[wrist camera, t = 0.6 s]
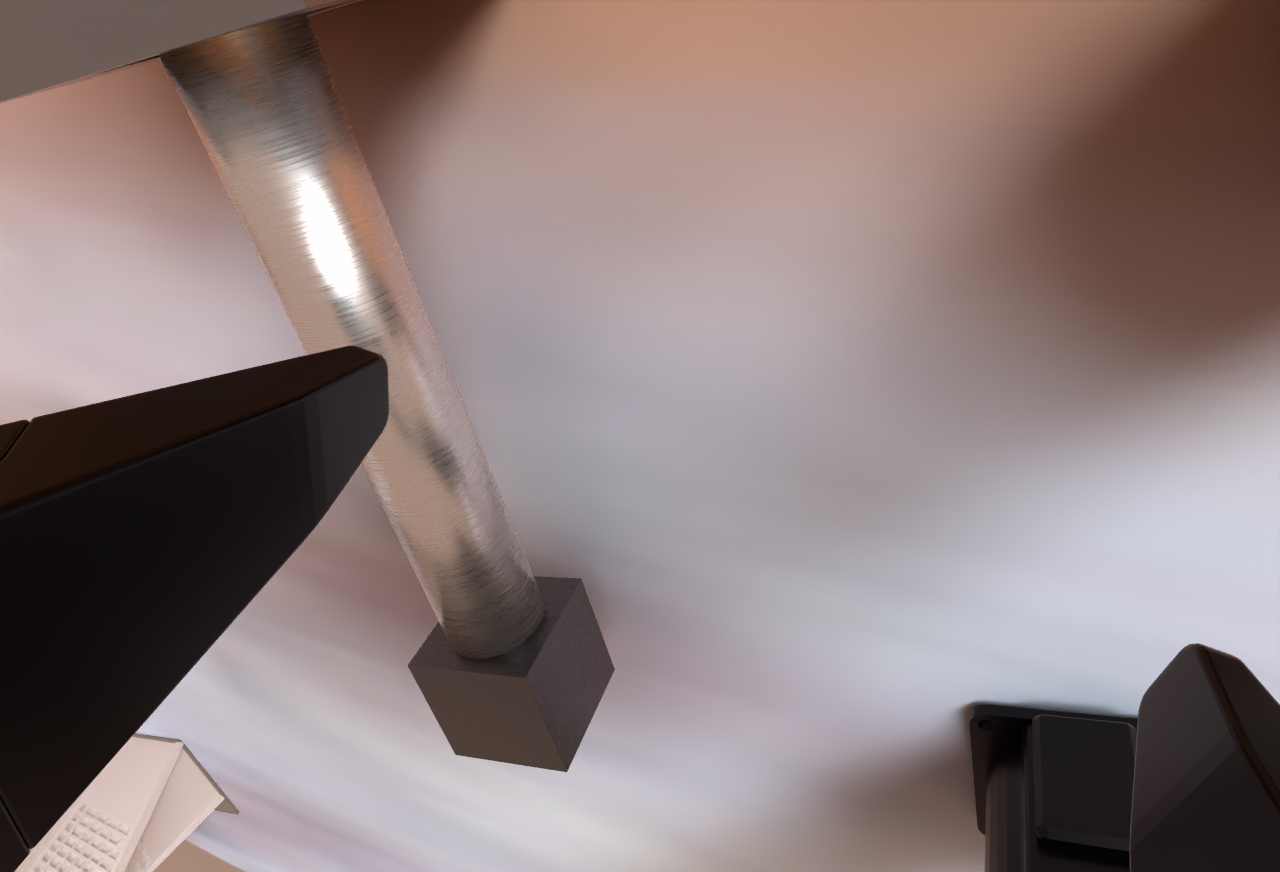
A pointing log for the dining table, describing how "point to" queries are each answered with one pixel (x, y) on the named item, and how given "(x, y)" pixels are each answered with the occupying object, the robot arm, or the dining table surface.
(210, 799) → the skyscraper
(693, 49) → the dining table surface
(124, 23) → the pillow block
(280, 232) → the shaft
